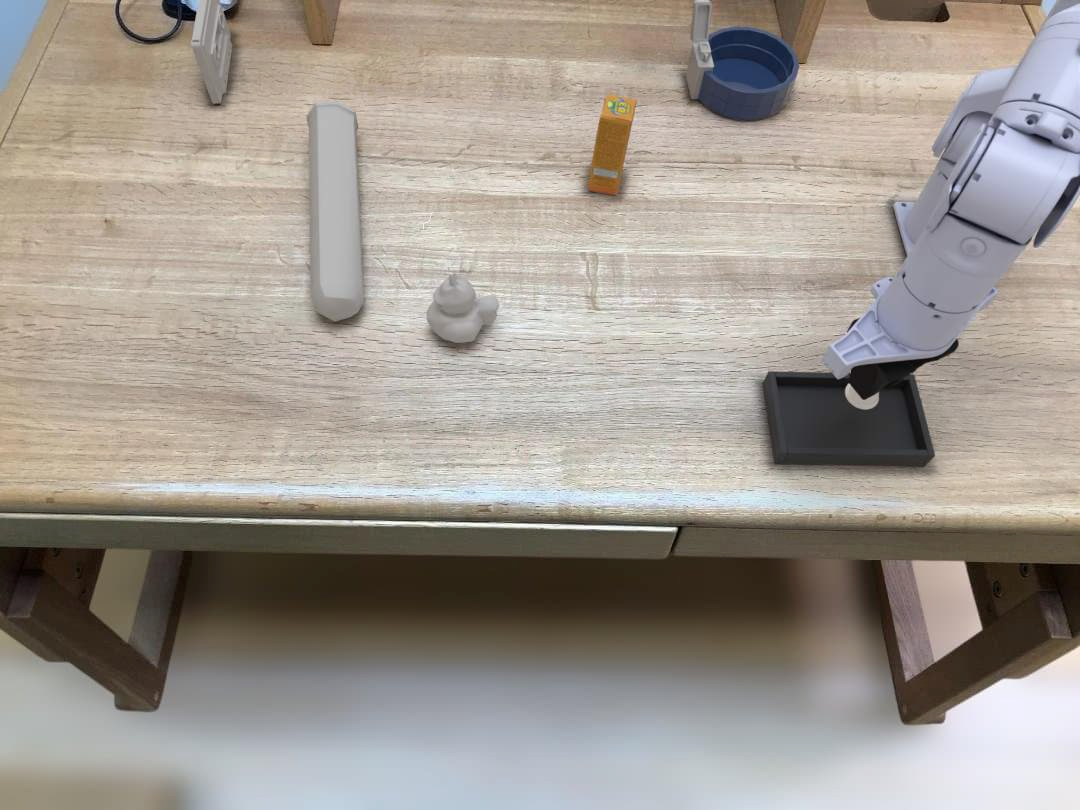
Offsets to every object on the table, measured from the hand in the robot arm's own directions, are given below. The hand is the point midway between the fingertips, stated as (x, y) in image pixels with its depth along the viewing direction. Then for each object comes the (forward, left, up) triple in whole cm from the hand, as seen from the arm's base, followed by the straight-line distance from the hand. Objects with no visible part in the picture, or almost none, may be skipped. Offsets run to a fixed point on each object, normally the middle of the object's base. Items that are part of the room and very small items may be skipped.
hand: (869, 384), depth 70 cm
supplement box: (+20, -29, -7) cm, 36 cm away
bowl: (+4, -44, -7) cm, 45 cm away
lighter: (+9, -44, -8) cm, 45 cm away
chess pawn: (0, 0, -2) cm, 2 cm away
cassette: (+63, -45, -7) cm, 77 cm away
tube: (+47, -22, -7) cm, 52 cm away
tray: (0, 0, -7) cm, 7 cm away
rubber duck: (+34, -10, -7) cm, 36 cm away
